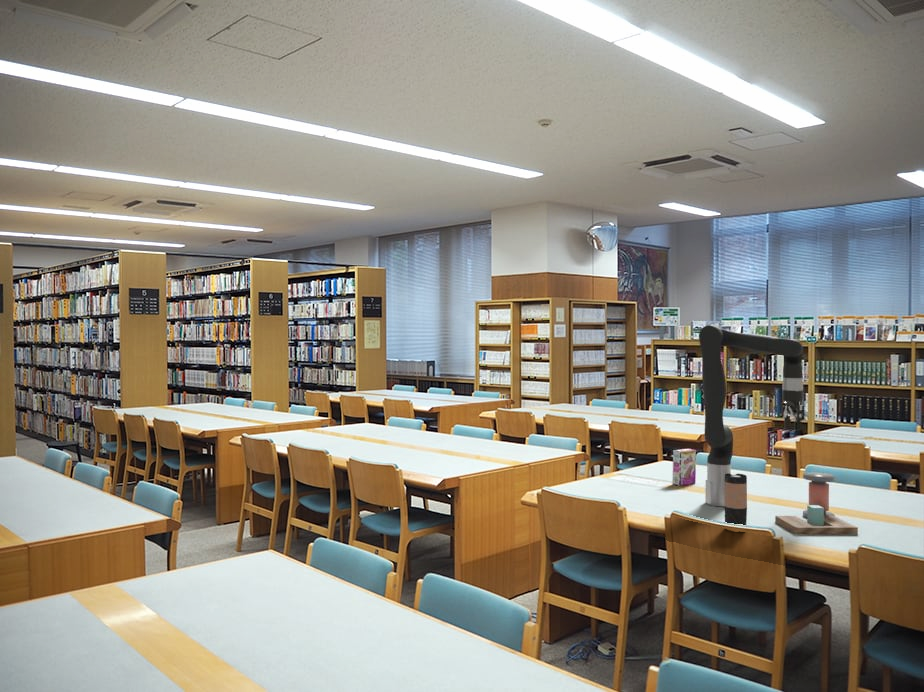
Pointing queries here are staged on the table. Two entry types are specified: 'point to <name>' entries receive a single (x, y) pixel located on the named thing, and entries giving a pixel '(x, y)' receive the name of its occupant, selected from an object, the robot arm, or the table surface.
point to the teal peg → (815, 515)
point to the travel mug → (735, 498)
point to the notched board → (830, 526)
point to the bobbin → (819, 490)
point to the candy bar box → (684, 467)
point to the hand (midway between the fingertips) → (792, 429)
